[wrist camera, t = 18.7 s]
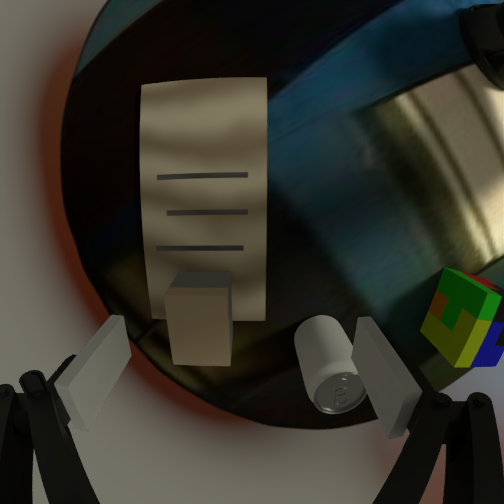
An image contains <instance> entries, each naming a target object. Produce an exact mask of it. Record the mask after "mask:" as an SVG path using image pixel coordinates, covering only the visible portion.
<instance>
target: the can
mask: <svg viewBox="0 0 504 504" xmlns="http://www.w3.org/2000/svg"><path fill="white" fill-rule="evenodd" d="M294 343H295V348H296V352H297V356H298V360H299V363H300V367H301V371H302V375H303V379H304V383H305V386H306V390H307V393H308V396H309V398H310V399H311V401H312V402H313V403H314V404H315V406H316V407H317V409H319V410H320V411H322V412H324V413H328V414H339V413H343V412H346V411H349V410H351V409H353V408H354V407H356V406H357V405H358V404H359V403H360V402H361V401H362V400H363V399H364V398H365V396H366V394H367V392H366V389H365V387H364V385H363V383H362V381H361V378H360V376H359V374H358V372H357V370H356V368H355V366H354V363H353V361H352V359H351V355H352V350H353V346H352V344H351V343H350V341H349V339H348V337H347V335H346V334H345V332H344V330H343V329H342V327H341V325H340V324H339V322H338V321H337V320H335V319H334V318H332V317H330V316H326V315H318V316H314V317H311V318H309V319H307V320H305V321H304V322H303V323H302V324H301V325H300V326H299V327H298V329H297V330H296V333H295V336H294Z"/></svg>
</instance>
